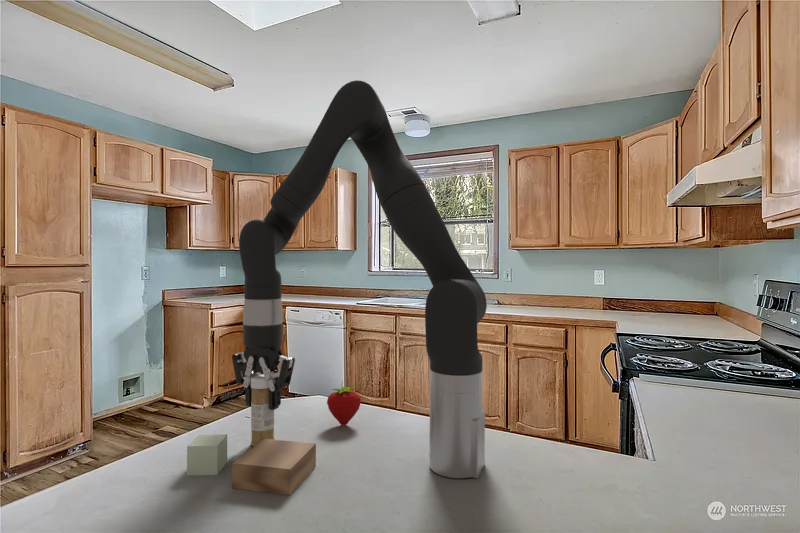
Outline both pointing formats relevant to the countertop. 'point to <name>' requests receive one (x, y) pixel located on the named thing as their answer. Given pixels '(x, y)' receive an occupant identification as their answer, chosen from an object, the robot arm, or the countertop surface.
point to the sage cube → (207, 454)
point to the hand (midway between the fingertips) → (262, 406)
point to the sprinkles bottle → (261, 411)
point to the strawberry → (343, 404)
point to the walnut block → (274, 466)
